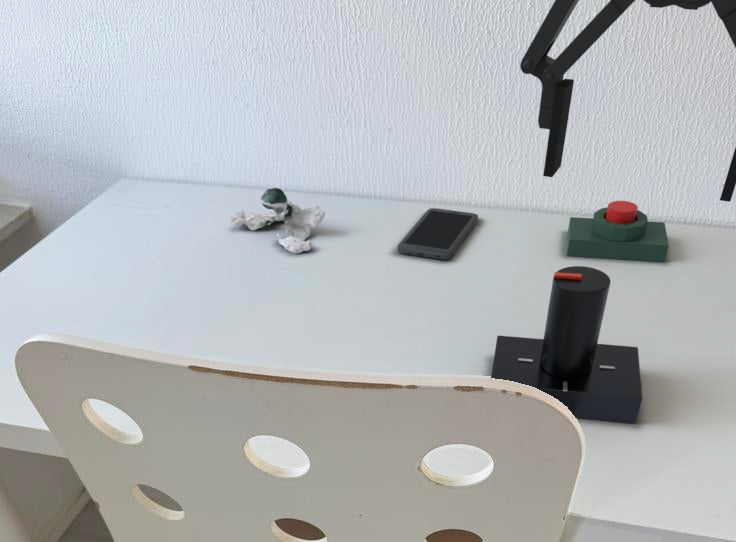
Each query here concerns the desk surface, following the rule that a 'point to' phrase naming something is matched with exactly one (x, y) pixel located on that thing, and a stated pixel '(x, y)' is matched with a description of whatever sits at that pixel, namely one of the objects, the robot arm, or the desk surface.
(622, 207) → the button
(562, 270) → the knob
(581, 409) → the black base block
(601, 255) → the button block
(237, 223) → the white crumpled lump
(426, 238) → the cell phone
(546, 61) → the robot arm
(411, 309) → the desk surface
